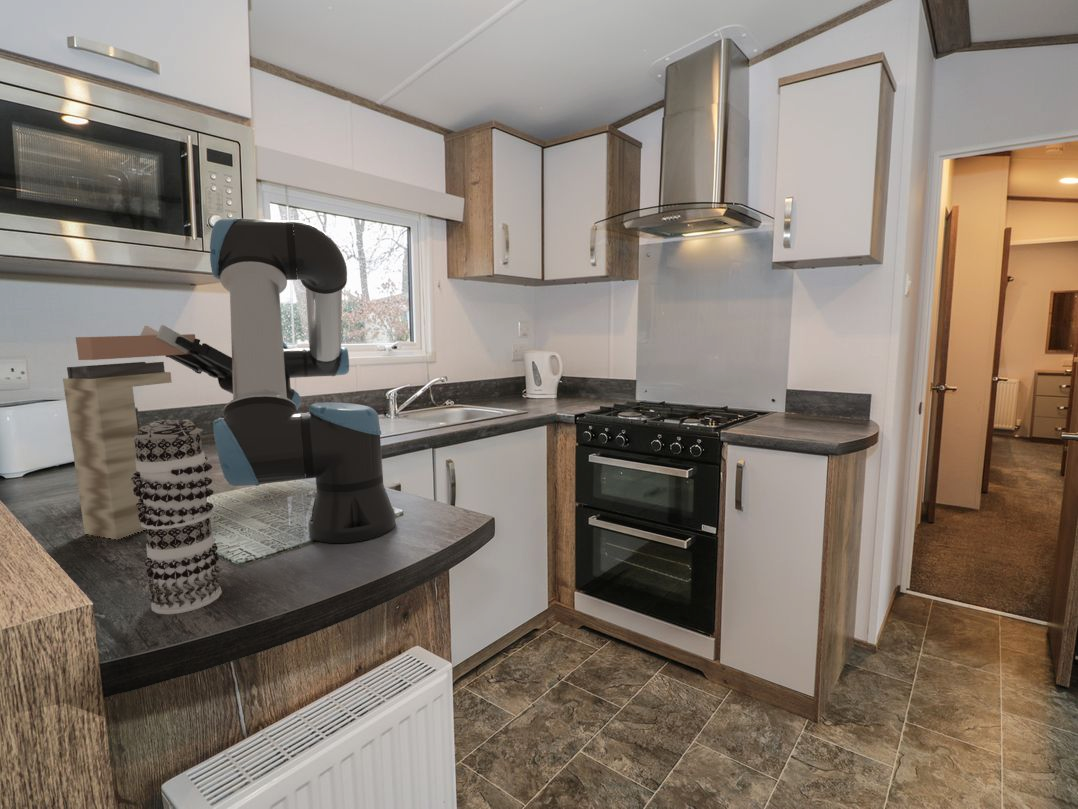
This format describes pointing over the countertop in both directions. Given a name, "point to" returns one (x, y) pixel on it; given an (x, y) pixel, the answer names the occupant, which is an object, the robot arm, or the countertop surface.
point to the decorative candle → (176, 516)
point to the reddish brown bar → (125, 347)
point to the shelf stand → (107, 442)
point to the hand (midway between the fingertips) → (151, 331)
